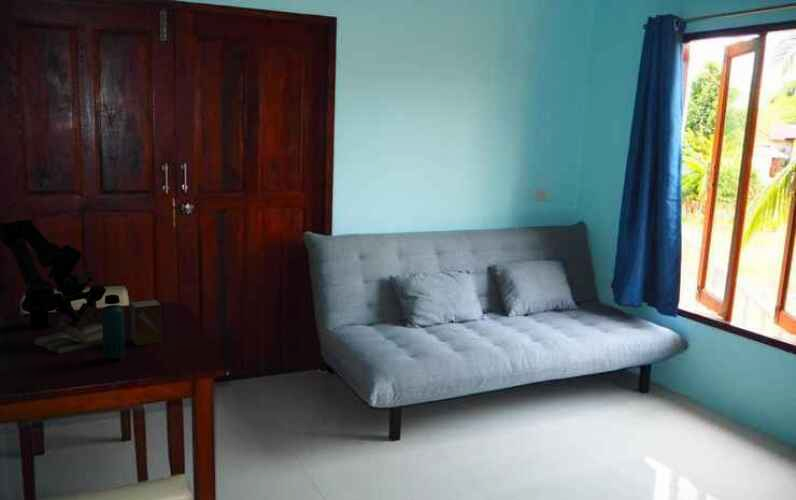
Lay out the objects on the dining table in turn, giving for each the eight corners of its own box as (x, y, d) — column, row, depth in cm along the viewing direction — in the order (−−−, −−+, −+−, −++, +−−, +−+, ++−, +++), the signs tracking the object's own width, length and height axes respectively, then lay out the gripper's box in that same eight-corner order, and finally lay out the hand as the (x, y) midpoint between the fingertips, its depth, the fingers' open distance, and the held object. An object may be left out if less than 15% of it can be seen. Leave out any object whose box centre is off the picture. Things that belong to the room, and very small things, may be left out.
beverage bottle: (112, 365, 206) (109, 299, 202) (98, 360, 209) (95, 295, 205) (131, 359, 211) (128, 295, 207) (117, 354, 214) (114, 291, 211)
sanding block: (56, 328, 218) (75, 298, 221) (70, 336, 223) (89, 306, 226) (70, 336, 214) (90, 305, 217) (84, 343, 219) (104, 313, 222)
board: (33, 343, 221) (33, 338, 221) (97, 327, 239) (97, 323, 239) (59, 354, 213) (59, 349, 212) (123, 337, 230) (123, 332, 230)
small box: (136, 346, 222) (134, 307, 219) (131, 340, 227) (129, 302, 225) (161, 342, 226) (160, 304, 224) (156, 337, 232) (155, 299, 229)
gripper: (44, 269, 213) (68, 309, 208) (100, 260, 228) (123, 297, 224) (33, 291, 218) (56, 331, 214) (88, 281, 234) (110, 317, 229)
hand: (87, 318), depth 220 cm, fingers closed on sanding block, 6 cm apart
